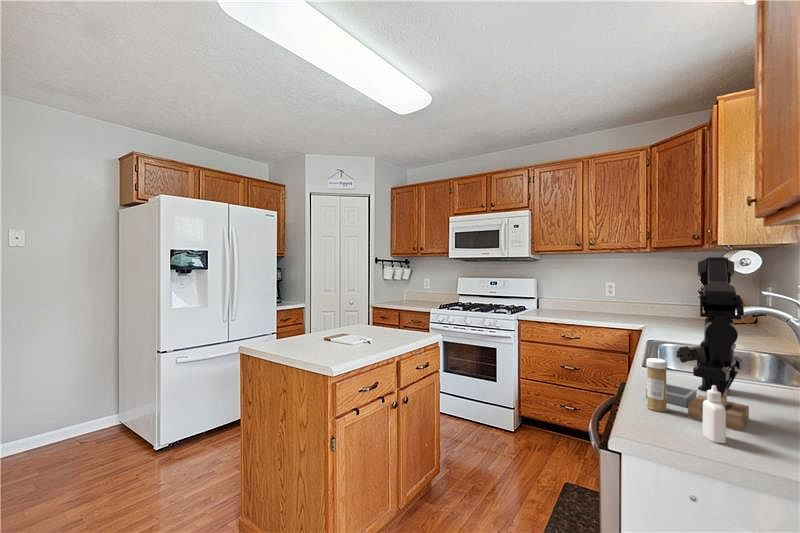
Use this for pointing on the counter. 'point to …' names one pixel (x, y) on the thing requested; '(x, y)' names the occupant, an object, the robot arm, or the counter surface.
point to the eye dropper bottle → (714, 417)
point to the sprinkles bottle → (656, 384)
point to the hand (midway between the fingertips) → (718, 399)
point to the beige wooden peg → (724, 399)
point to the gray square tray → (679, 395)
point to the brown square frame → (734, 413)
